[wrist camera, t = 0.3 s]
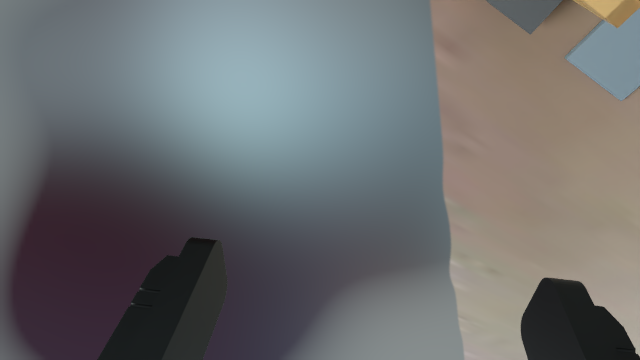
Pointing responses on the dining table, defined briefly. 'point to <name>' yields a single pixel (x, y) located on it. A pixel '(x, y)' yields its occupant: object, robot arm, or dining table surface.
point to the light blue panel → (611, 56)
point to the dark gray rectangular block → (526, 11)
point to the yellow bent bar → (611, 9)
